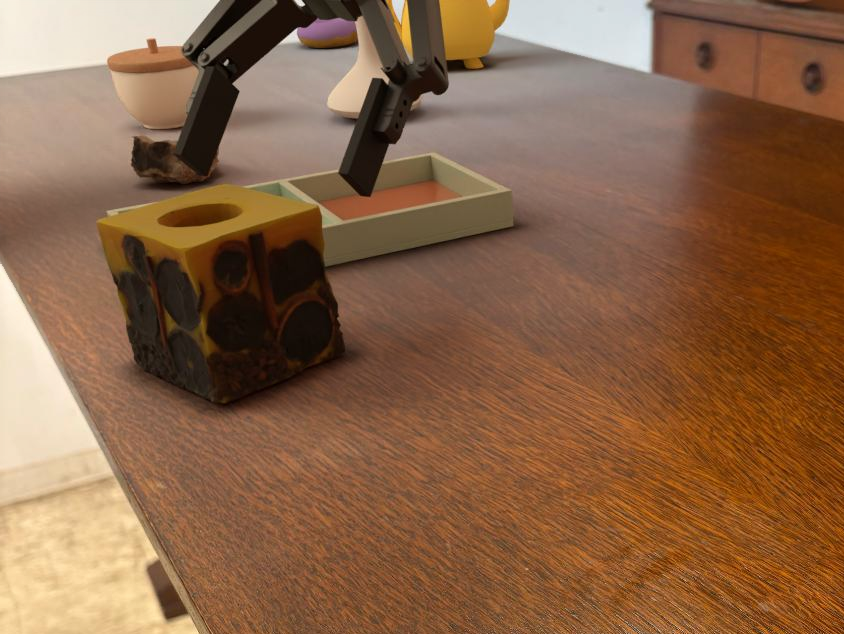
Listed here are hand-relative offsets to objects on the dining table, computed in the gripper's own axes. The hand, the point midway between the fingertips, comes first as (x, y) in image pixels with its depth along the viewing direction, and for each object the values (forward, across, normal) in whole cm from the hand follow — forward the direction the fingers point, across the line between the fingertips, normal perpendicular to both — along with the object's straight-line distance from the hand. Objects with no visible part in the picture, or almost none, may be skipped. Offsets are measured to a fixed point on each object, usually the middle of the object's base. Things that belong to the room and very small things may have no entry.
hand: (268, 175), depth 70 cm
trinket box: (-24, +56, -39) cm, 72 cm away
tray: (-5, +12, -20) cm, 23 cm away
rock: (-12, +37, -27) cm, 47 cm away
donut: (-60, +70, -75) cm, 119 cm away
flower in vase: (-32, +34, -47) cm, 66 cm away
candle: (+12, 0, -4) cm, 12 cm away
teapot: (-54, +41, -70) cm, 97 cm away
